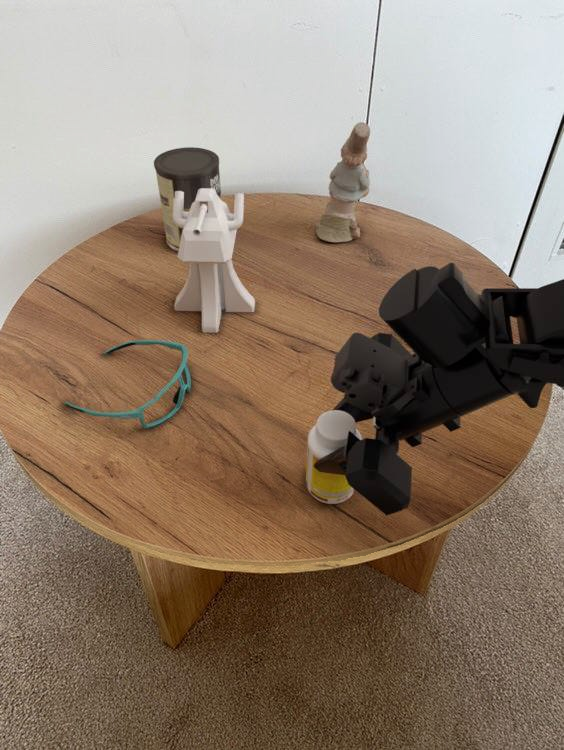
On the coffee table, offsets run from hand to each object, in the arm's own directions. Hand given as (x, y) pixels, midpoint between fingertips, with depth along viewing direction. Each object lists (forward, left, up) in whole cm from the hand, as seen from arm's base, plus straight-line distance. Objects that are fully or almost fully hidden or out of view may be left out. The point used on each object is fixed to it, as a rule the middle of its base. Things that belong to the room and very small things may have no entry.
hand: (321, 445), depth 60 cm
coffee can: (+37, -41, -7) cm, 56 cm away
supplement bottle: (-1, 0, -7) cm, 7 cm away
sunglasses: (+27, -5, -7) cm, 28 cm away
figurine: (+14, -52, -7) cm, 54 cm away
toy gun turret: (+25, -24, -7) cm, 35 cm away
